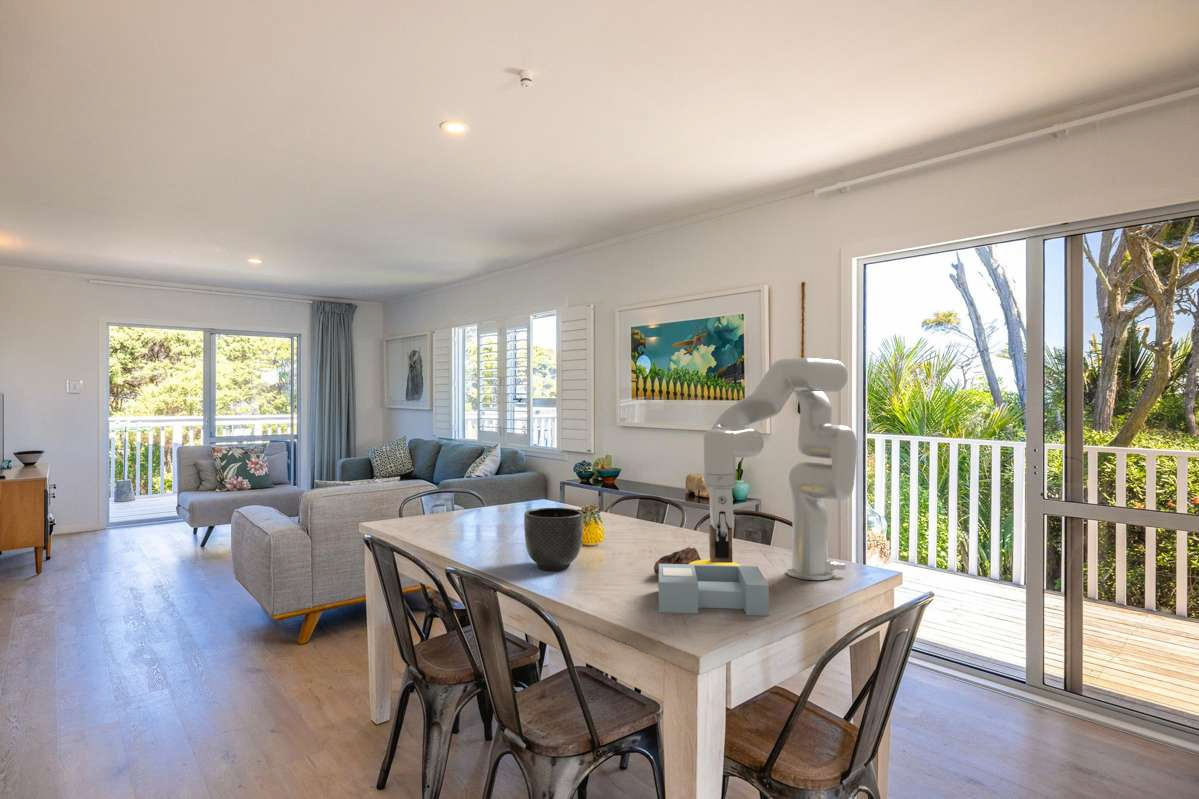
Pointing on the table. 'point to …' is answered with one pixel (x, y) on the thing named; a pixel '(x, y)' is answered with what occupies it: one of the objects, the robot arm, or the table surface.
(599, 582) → the table surface
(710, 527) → the walnut block
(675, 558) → the driftwood
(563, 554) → the planter
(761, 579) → the slot box
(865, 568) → the table surface
